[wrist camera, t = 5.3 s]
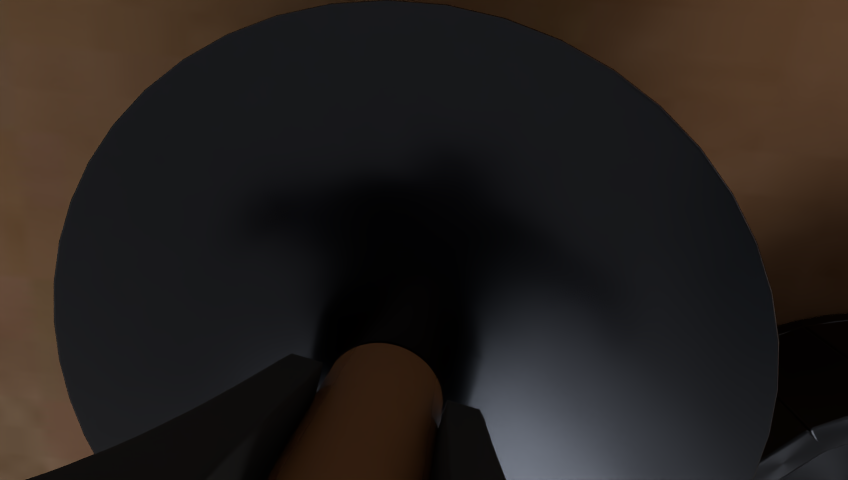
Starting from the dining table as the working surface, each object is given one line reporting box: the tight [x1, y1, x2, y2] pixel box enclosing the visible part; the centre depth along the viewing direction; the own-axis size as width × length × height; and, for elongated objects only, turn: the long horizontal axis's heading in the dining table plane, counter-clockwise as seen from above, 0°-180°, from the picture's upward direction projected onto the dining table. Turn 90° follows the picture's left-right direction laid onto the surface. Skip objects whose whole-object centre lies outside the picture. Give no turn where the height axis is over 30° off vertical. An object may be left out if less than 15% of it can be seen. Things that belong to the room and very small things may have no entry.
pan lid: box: [54, 0, 779, 480], centre depth 9 cm, size 15×15×5 cm
